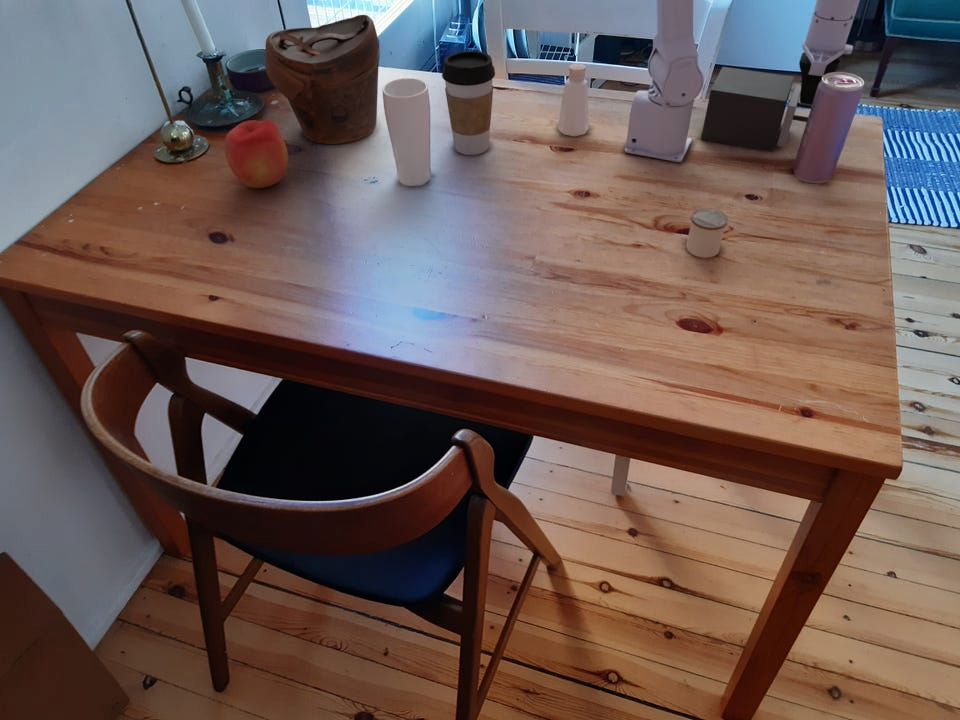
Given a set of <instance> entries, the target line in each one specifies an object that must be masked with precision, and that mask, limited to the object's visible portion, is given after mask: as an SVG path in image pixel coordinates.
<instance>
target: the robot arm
mask: <svg viewBox="0 0 960 720" xmlns="http://www.w3.org/2000/svg"><path fill="white" fill-rule="evenodd" d="M860 1H861V0H816V1H815V6H814V8H813V13H812V16H811V19H810V22H809V25H808V30H807V34H806V36H805V39H804V40H803V42H802V46H801V48H802V50H803V52H802V53H801V56H800V59H799V64H798V65H799V70H800V75H801V77H800V78H801V82H800V83H801V84H800V85H801V92H800V97H799V102H800V103H801V104H808V105H812V104H813V101H814V97H815V94H816V91H817V88H818V85H819V83H820V82H821V80H822V77H823V76H824V75H825V74H828V73H832V72H837V70H838V69H839V65H840V61H841V57H842V55H851V54H852V53H853V48H854V45H852V44H847V42H848V38H849V35H850V33H851V29H852V26H853V23H854V20H855V16H856V14H857V11H858V7H859V4H860ZM656 23H657V24H656V28H657V30H656V32H657V33H656V34H655V36H653V38H652V49H651V50H652V51H651V53H650V56H649V58H648V62H647V71H648V74H649V76H650V77H651V79H652V82H651V84H650V85H649V88H648V90H636V93H635V95H634V97H633V100H632V104H631V108H630V112H629V119H628V126H627V135H626V142H625V143H626V144H625V147H624V153H626V154H631V155H638V156H644V157H648V158H654V159H659V160H665V161H670V162H675V163H681V162H683V160H684V158H685V157H686V154H687V151H688V150H689V148H690V146H691V143H692V141H693V139H692V137H688V134H689V130H690V124H691V120H692V119H691V118H692V113H693V109H694V103H695V99H696V98H697V97H698V96H699V95H700V94H701V92H702V90H703V87H704V83H705V79H704V74H703V72H702V70H701V69H700V66H699V61H698V58H699V55H698V51H697V46H696V42H695V38H694V0H656Z"/></svg>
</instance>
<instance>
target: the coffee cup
mask: <svg viewBox="0 0 960 720" xmlns="http://www.w3.org/2000/svg"><path fill="white" fill-rule="evenodd" d="M441 70H442V71H441V77H442V79H443V80H444V82H445V89H444V90H445V97H446V105H447V110H448V116H449V122H450V128H451V132H452V133H451V134H452V140H453V147H454V150H455V151H456V152H457V153H458V154H462V155H465V156H466V155H467V156H474V155H480V154H483V153H485V152H487V150H489V148H490V134H491V124H492V123H491V122H492V110H493V109H492V108H493V97H494V96H493V95H494V86H493V79H494V78H495V76H496V69H495V66H494V65H493V59H492V57H491V55H490V54H489V53H487V52H483V51H480V50H462V51H458V52H454V53H452V54H449V55H447V56H446V57H444V60H443V68H442V69H441Z"/></svg>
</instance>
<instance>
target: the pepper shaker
mask: <svg viewBox="0 0 960 720" xmlns="http://www.w3.org/2000/svg"><path fill="white" fill-rule="evenodd" d="M586 70H587V67H586V65H585V64H583V63H579V62H578V63H577V62H576V63H572V64H570V65H569V66H568V78H567V79H566V80H565V82H564V86H563V92H562V99H561V105H560V111H559V117H558V123H557V130H558V131H559V132H560V133H561V134H562V135H563V136H564V135H565V136H570V137H578V136H582V135H586V133H587V132H588V130H589V128H590V124H589V123H590V119H589V118H590V117H589V82H588V81H587V80H586V79H585V76H586Z"/></svg>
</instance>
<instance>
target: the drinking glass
mask: <svg viewBox="0 0 960 720" xmlns="http://www.w3.org/2000/svg"><path fill="white" fill-rule="evenodd" d="M428 87H429V86H428V84H427V83H426V81H424V80H421V79H419V78H411V77H404V78H396V79H394V80H391V81H389V82H387V83H385V84H384V85H383V87H382V89H381V90H382V101H383V102H382V103H383V111H384V117H385V121H386V126H387V127H386V128H387V130H388V131H387V132H388V137H389V140H390V144H391V149H392V153H393V157H394V163H395V167H396V176H397V179H398V181H399V182H400V184H402V185H404V186H406V187H419V186H422V185H425V184H427V183H428V182H429V181H430V179H432V169H431V102H430V94H429V88H428Z"/></svg>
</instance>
